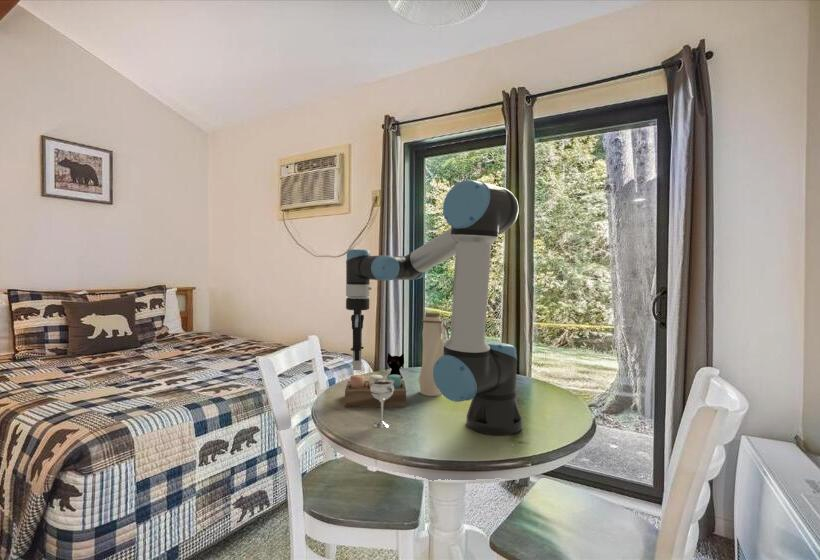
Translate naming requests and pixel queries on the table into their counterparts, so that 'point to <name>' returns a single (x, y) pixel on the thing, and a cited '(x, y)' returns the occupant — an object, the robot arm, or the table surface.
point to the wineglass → (382, 396)
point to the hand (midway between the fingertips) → (357, 369)
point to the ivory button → (374, 378)
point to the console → (366, 399)
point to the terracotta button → (357, 381)
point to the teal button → (396, 380)
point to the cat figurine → (395, 364)
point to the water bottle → (432, 351)
